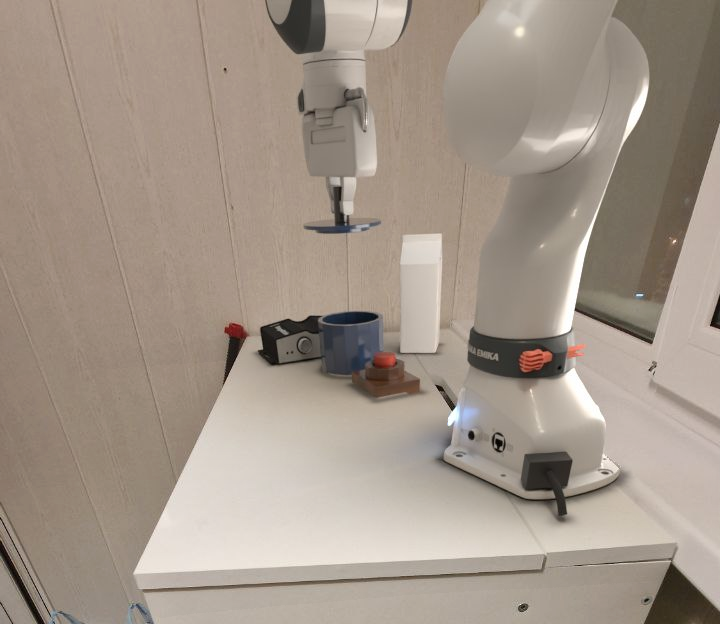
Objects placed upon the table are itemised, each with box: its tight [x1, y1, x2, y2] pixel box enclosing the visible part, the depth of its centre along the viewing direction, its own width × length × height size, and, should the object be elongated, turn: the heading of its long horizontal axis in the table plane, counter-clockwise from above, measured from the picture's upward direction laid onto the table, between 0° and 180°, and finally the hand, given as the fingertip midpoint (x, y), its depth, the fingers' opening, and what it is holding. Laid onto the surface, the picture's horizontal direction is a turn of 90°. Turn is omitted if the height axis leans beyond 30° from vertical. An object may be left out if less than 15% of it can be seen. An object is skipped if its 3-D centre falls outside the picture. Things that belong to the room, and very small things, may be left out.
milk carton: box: [399, 233, 444, 354], centre depth 107 cm, size 7×7×19 cm
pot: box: [318, 310, 385, 376], centre depth 102 cm, size 12×12×8 cm
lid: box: [302, 186, 382, 235], centre depth 88 cm, size 13×13×6 cm
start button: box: [374, 351, 397, 367], centre depth 92 cm, size 4×4×2 cm
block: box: [351, 358, 421, 398], centre depth 93 cm, size 10×8×4 cm
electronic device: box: [257, 314, 323, 366], centre depth 113 cm, size 13×5×20 cm
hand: (342, 214), depth 88 cm, fingers closed on lid, 2 cm apart
